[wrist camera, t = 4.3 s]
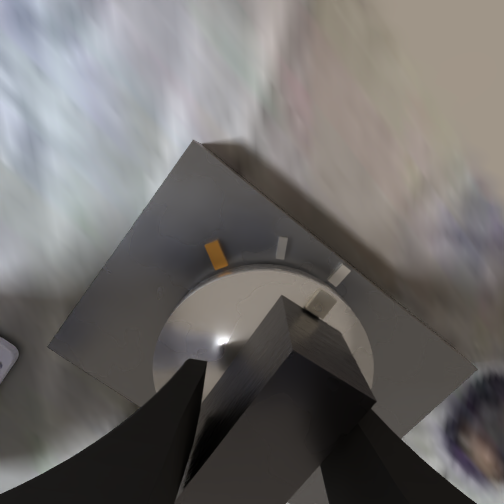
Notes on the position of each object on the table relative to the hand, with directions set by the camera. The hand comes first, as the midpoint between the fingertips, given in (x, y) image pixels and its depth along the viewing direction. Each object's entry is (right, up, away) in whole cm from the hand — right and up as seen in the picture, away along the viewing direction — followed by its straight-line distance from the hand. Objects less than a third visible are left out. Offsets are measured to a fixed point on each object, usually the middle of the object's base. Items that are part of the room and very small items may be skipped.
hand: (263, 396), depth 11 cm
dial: (0, 0, +2) cm, 2 cm away
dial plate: (0, +1, +4) cm, 4 cm away
